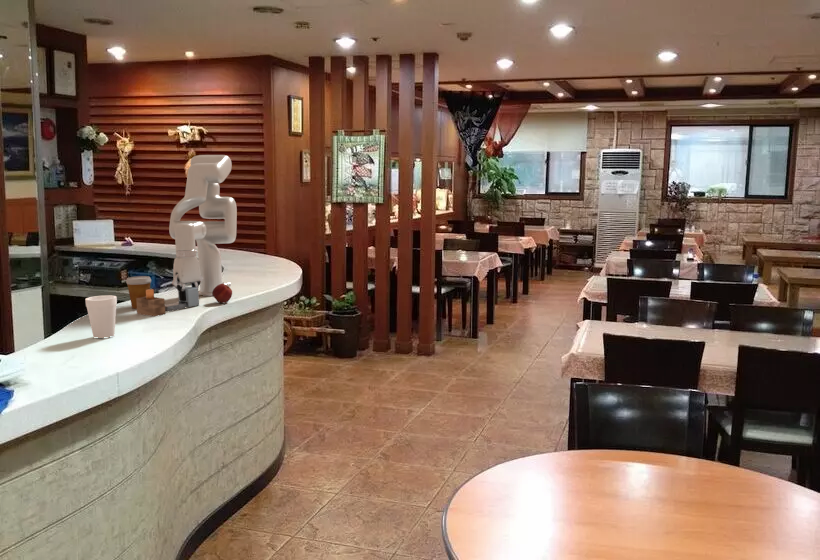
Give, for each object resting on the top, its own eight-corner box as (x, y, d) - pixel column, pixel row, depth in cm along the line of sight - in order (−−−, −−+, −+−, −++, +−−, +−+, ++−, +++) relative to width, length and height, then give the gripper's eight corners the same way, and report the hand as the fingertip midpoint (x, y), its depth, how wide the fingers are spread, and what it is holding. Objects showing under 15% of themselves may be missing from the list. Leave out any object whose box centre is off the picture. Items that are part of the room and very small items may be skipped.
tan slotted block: (148, 311, 285) (147, 296, 284) (165, 314, 280) (164, 298, 279) (137, 313, 281) (136, 298, 280) (154, 316, 276) (153, 300, 275)
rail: (191, 304, 299) (191, 299, 299) (198, 305, 297) (198, 300, 296) (160, 310, 286) (160, 305, 286) (167, 311, 284) (167, 306, 284)
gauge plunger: (151, 298, 282) (150, 288, 281) (155, 298, 280) (155, 289, 279) (144, 299, 279) (144, 290, 279) (149, 299, 278) (148, 290, 277)
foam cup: (100, 341, 236) (97, 301, 235) (82, 338, 241) (79, 299, 239) (125, 335, 244) (122, 296, 242) (107, 332, 249) (104, 294, 247)
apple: (227, 304, 298) (226, 285, 296) (209, 304, 299) (208, 284, 298) (235, 301, 305) (234, 282, 304) (217, 301, 306) (216, 282, 305)
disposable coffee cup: (157, 305, 298) (155, 275, 296) (146, 309, 289) (144, 279, 287) (134, 305, 299) (132, 275, 297) (123, 309, 290) (121, 279, 288)
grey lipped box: (188, 303, 299) (187, 286, 298) (199, 304, 296) (198, 288, 295) (178, 305, 295) (177, 288, 294) (189, 306, 291) (188, 289, 290)
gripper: (196, 251, 301) (199, 295, 304) (162, 256, 287) (164, 302, 290) (209, 252, 297) (211, 297, 300) (174, 257, 283) (177, 303, 286)
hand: (188, 299), depth 295 cm, fingers closed on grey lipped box, 5 cm apart
